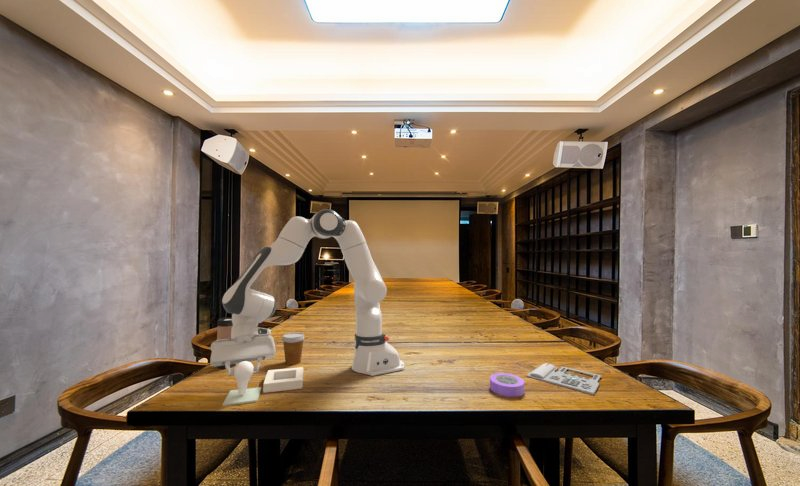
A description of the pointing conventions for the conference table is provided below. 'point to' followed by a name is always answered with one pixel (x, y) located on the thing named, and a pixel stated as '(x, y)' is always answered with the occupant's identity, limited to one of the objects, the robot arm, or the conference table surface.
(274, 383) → the block
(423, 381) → the conference table surface
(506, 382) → the masking tape
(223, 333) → the travel mug
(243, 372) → the lightbulb
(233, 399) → the pad
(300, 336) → the disposable coffee cup
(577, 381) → the office telephone
